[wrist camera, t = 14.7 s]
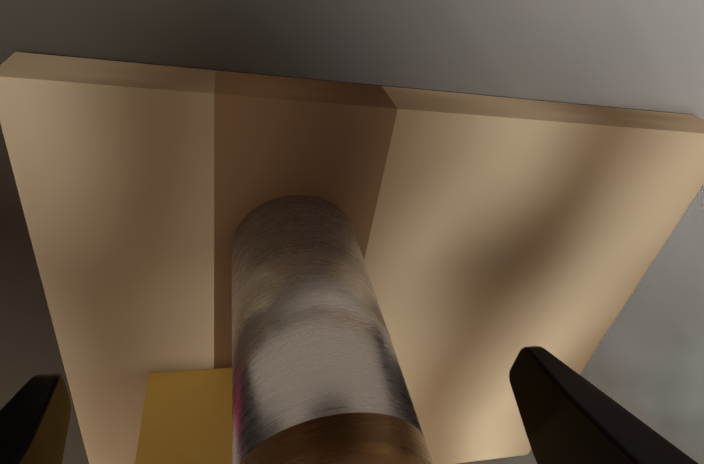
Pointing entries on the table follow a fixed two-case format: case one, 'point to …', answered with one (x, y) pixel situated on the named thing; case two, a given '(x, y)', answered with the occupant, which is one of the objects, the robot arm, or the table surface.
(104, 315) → the board
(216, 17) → the table surface
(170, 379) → the mustard yellow box
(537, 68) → the table surface
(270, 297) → the bronze metal canister
